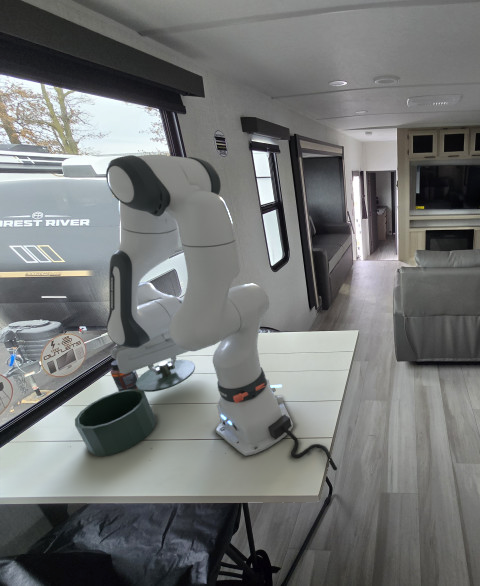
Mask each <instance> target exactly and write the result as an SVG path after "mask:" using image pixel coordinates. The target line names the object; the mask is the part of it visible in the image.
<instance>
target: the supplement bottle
mask: <svg viewBox="0 0 480 586" xmlns="http://www.w3.org/2000/svg"><path fill="white" fill-rule="evenodd" d="M110 365H111V369H110V375H111V378H112V380H113V381H114V384H115V387H116V389H117V390H118V392H119V391H123V390H128V389H138V388H137V386H136V382H137V380H138V378H139V377H140V376H139V375H138V373H137V370H135V371H132V372H129V373H127V374H123V373H120V371H119V368H118V364H117V360H116V359H114V360H113V361H112V362H111V363H110Z"/></svg>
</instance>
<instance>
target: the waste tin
mask: <svg viewBox="0 0 480 586" xmlns="http://www.w3.org/2000/svg"><path fill="white" fill-rule="evenodd" d="M156 424H157V419H156V417H155V414H154V412H153V410H152V407H151V404H150V402H149V400H148V397H147V395H146V392H144V391H141V390H139V389H128V390H123V391H119V390H118V391H115V392H112V393H110V394H108V395H105V396H102V397H100V398H99V399H97V400H95V401H93V402H92V403H89V404H88V405H87V406H86V407H84V408H83V409H82V410H81V411H80V412H79V413H78V414H77V416H76V417H75V418H74V427H75V428H76V430H77V432H78V433H79V435H80V437H81V439H82V441H83V442H84V445H85V446H86V448H87V450H88V452H89V453H91V454H92V455H93V456H97V457H107V456H112V455H115V454H116V455H117V454H119V453H121V452H124V451H127V450H129V449H131V448H132V447H134V446H135V445H138V444H139V443H141V441H143V440H144V439H145V438H146V437H148V436H149V435H150V434H151V433H152V432H153V430H154V428H155V427H156Z"/></svg>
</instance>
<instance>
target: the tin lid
mask: <svg viewBox="0 0 480 586" xmlns="http://www.w3.org/2000/svg"><path fill="white" fill-rule="evenodd" d="M169 363H171V360H169V361H165V360H164V361H160V362H158V365H154V367H155V368H158V367H159V368H160V370H161V374H159V375H156V374H155V372H154V371H152V370H150V369H149V368H148V370H146V371H144V373H142V374H140V376H138V377H139V378H138V380H137V382H136V386H137V388H138V389H139V390H141V391H144V392H145V393H154V392H159V391H164V390H168V389H170V388H173V387H175V386H178V385H180V384H181V383H183V382H184V381H186V380H187V379H189V378H190V377H191V376H193V374H194V372H195V370H196V365H195V363H194V362H193V361H192V360H188V359H176V361H175V364H174V365H175V369H172V370H170V368H169V366H168V364H169Z"/></svg>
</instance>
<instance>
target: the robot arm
mask: <svg viewBox="0 0 480 586" xmlns="http://www.w3.org/2000/svg"><path fill="white" fill-rule="evenodd" d="M105 177H106V179H105V180H106V183H107V187H108V189H109V191H110V192H111V194H112V195H113V196H114V198H115V199H116V200H117V201H118V211H119V212H118V213H119V221H120V226H121V238H120V242H119V246H118V247H117V250H116V251H115V252H114V253H113V254H112V255H111V257H110V261H109V273H108V274H109V276H108V286H109V287H108V288H109V291H108V292H109V293H108V295H109V296H108V297H109V299H108V301H109V309H108V311H109V312H108V316H107V321H106V332H107V335H108V337H109V339H110V340H111V342H113V344H115V345H114V346H113V347H111V349H110V351H109V353H110V354H109V355H110V357H111V358H112V359H114V360H117V364H118V368H119V371H120V373H123V374H127V373H129V372H132V371H135V370H136V371H137V370H140V369H144V368H146V367H147V368H148V370H149V369H150V370H152V371H154V372H155V374H156V375H159V374H161V370H160V368H159V367H158V368H155V364H157V363H158V364H159V363H161V362H164V361H165V360H169V359H170V361H171V363H169V364H168V366H169V368H170V370H172V369H175V365H174V364H175V361H176V360H178V359H177V356H180V355H183V354H185V353H188V352H197V351H200V350H203V349H207V348H209V347H212V346H215V345H217V344H218V343H219V344H218V346H217V347H216V349H215V351H214V353H213V355H212V364H213V368H214V371H215V374H216V379H217V383H216V385H217V390H218V392H219V395H220V398H219V400H218V401H217V403H216V408H217V411H218V415H219V419H220V420H219V421H220V422H219V424H218V425H217V426H216V429H215V431H216V433H217V435H218V436H220V437H221V438H222V439H223V440H224V441H226V442H227V443H228V444H230V445H231V447H234V449H235V450H237V452H239V453H240V454H242V455H243V456H245V457H247V456H252V455H255V454H258V453H261V452H262V451H265V450H267V449H268V448H270V447H273V446H274V445H275V444H277V443H279V442H280V441H281V440H282V439H284V438H285V437H286V436H287V435H288V436H289V437H290V438H291V439H292V440H293V442H294V446H293V448H292V449H291V453H290V456H291V457H292V458H294V459H299V458H301V457H303V456H304V455H306V454H307V453H309V452H310V451H311V450H313V449H319V450H322V451H323V452H324V454H325V455H326V458H327V460H328V462H329V465H330V466H331V468H332V470H333V471H337V470H338V467H337V465H336V464H335V462H334V460H333V458H332V457H331V458H330V455H331V453H330V450H329V449H328V448H327V447H326V446H325V445H324V444H320V443H313V444H311V445H310V446H308V447H306V448H305V449H304V450H303V451H301V452H300V453H296V451H297V449H298V448H299V440H298V438H297V437H296V436H295V434H294V433H293V432H292V430H293V428H294V423H293V421H292V418H291V417H290V414H289V412H288V410H287V407H286V406H285V404H284V399H283V397H282V396H281V395H277V394H275V392H276V391H277V390H276V388H282V387H283V385H282V384H273V385H271V384H270V380H269V379H268V378H267V375H266V373H265V371H264V369H263V368H262V366H261V361H260V356H259V349H258V340H259V333H260V328H261V325H262V322H263V319H264V317H265V316H266V313H267V312H268V310H269V308H270V300H269V296H268V293H267V292H266V291H265V289H264V288H263V287H261V286H260V285H259V284H255V283H245V284H239V285H235V286H233V287H231V286H232V285H233V283H234V281H235V280H236V278H237V277H238V276H239V274H240V272H241V263H240V255H239V250H238V245H237V244H238V243H237V237H236V233H235V227H234V224H233V221H232V217H231V215H230V212H229V209H228V206H227V204H226V202H225V200H224V199H223V198H222V197H221V196H220V195H219V194H220V192H221V186H222V184H221V179H220V175H219V173H218V171H217V170H216V168H215V167H214V166H213V165H212V163H210V162H209V161H207V160H204V159H201V158H197V157H193V156H187V157H184V156H177V155H176V156H174V155H167V154H145V155H133V154H131V155H124V156H119V157H116V158H113V159H111V160H110V161H109V163H108V164H107V166H106V171H105ZM179 238H180V239H179ZM179 240H180V242H181V248H182V251H183V256H184V262H185V266H186V273H187V280H186V281H187V283H186V289H185V292H184V296H183V299H182V298H180V297H178V296H176V295H173V294H166V293H164V292H161V291H159V290H158V289H157V288H156V287H155V286H154V285H153V283H151V282H147V281H143V282H141V281H142V279H143V278H144V277H145V276H146V275H147V274H149V272H151V271H152V270H154V268H156V267H158V266H159V265H160V264H162V263H164V262H166V261H167V260H169V259H170V258H171V257H172V256H173V255H174V253H176V251H177V249H178V247H179ZM329 459H330V461H329Z"/></svg>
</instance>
